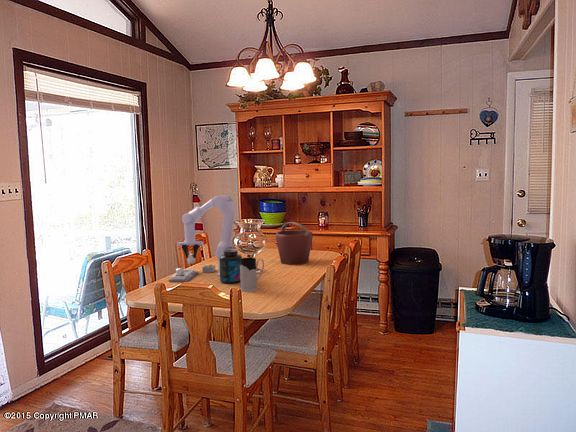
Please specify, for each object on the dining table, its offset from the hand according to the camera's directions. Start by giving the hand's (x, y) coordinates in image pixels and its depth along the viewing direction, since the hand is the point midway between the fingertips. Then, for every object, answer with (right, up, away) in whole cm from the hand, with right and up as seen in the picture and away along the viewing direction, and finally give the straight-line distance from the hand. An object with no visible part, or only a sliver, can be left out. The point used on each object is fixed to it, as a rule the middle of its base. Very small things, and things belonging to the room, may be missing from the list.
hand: (191, 257), depth 267 cm
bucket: (+59, -5, +20) cm, 63 cm away
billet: (0, -3, 0) cm, 3 cm away
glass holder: (+39, -12, -40) cm, 57 cm away
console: (+10, -8, +1) cm, 13 cm away
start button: (+10, -8, +1) cm, 13 cm away
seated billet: (-2, -9, -19) cm, 21 cm away
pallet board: (-1, -10, -13) cm, 16 cm away
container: (+26, -10, -25) cm, 37 cm away
